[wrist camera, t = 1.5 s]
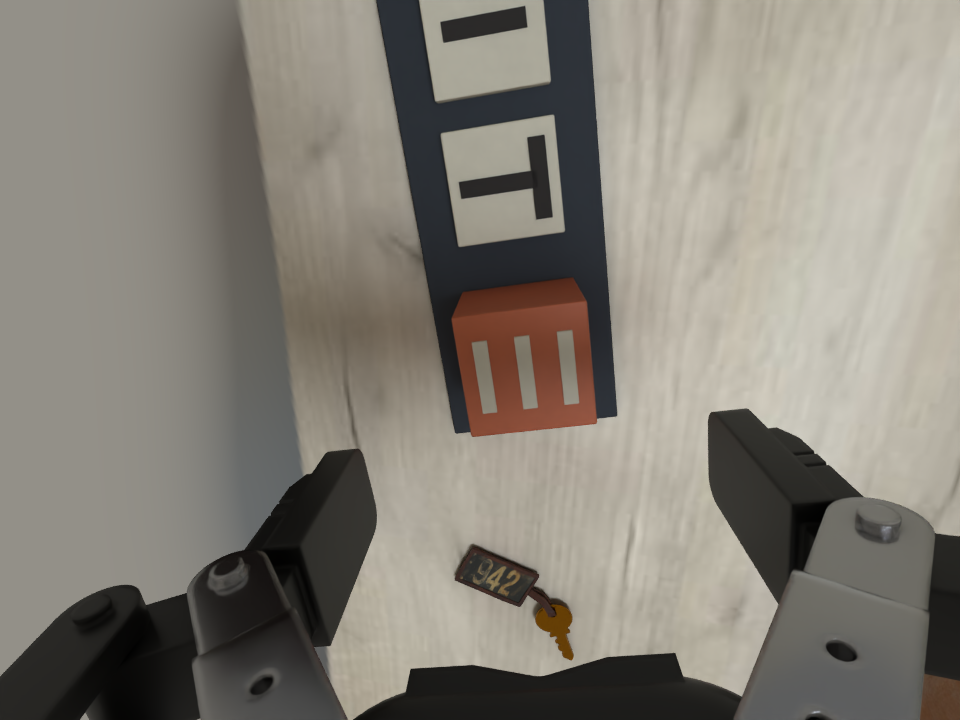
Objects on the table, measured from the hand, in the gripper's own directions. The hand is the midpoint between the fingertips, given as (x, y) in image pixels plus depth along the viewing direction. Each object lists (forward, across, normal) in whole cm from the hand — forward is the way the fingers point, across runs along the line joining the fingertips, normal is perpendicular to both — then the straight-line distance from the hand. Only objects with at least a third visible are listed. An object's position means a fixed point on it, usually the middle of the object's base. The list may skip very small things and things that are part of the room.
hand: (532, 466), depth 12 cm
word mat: (+10, 0, -5) cm, 11 cm away
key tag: (+10, +2, +14) cm, 17 cm away
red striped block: (+10, 0, 0) cm, 10 cm away
